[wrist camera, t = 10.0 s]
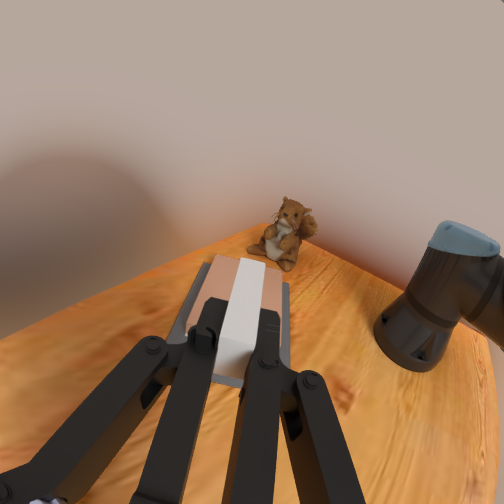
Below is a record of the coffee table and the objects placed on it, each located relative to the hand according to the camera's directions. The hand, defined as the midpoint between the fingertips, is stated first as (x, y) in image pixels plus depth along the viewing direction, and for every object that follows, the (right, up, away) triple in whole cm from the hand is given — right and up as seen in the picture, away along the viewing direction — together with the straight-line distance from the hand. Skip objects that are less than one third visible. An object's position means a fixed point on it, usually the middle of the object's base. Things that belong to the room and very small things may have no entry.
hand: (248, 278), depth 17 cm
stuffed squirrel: (+6, +1, +43) cm, 44 cm away
